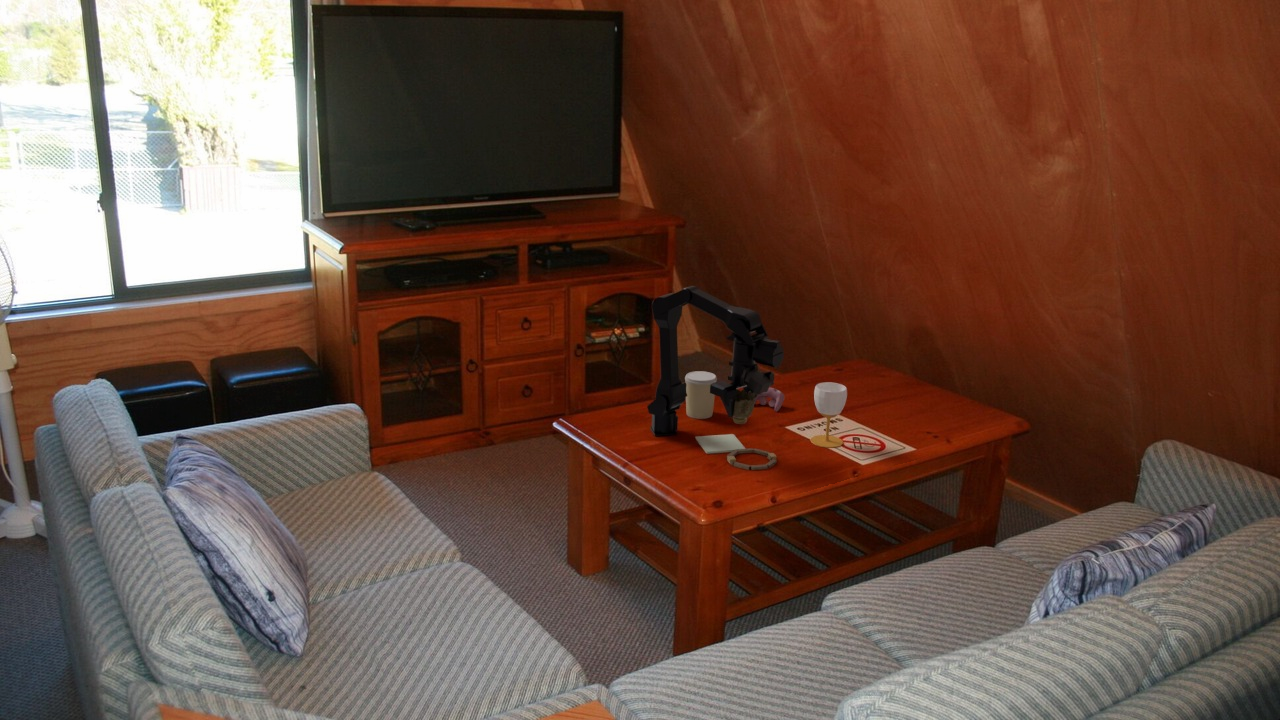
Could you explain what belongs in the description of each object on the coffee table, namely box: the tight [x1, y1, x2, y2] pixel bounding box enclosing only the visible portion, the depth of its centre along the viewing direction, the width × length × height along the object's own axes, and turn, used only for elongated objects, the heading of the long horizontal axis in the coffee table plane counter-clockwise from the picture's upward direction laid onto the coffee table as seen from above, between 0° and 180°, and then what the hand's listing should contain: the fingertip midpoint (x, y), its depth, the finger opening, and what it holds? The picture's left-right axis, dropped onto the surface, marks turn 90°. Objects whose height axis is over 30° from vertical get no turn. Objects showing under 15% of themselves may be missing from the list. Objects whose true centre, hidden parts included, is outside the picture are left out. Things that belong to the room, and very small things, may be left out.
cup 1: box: [732, 389, 756, 425], centre depth 277 cm, size 8×7×8 cm
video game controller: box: [755, 386, 786, 413], centre depth 316 cm, size 10×5×7 cm, turn 58°
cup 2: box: [810, 381, 848, 449], centre depth 288 cm, size 9×9×16 cm
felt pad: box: [695, 433, 746, 454], centre depth 287 cm, size 11×11×1 cm
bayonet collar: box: [726, 447, 778, 471], centre depth 276 cm, size 13×12×1 cm
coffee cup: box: [684, 370, 718, 420], centre depth 307 cm, size 9×9×12 cm
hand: (739, 414), depth 278 cm, fingers closed on cup 1, 6 cm apart
